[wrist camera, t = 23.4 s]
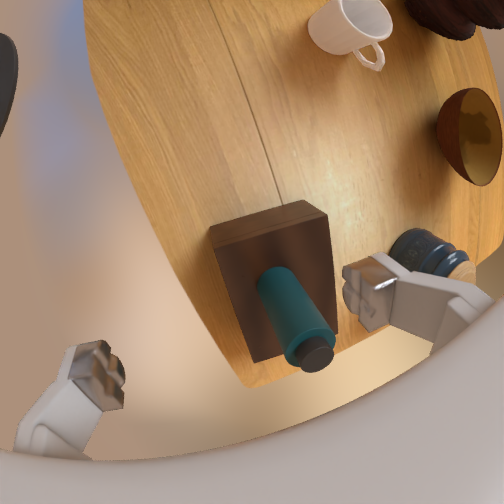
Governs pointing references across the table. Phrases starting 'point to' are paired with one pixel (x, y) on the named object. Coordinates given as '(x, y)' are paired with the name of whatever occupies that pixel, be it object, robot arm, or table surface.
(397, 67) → the table surface
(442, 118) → the bowl
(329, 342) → the bottle
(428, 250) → the canister
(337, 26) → the mug
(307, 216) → the wooden box
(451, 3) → the vase
